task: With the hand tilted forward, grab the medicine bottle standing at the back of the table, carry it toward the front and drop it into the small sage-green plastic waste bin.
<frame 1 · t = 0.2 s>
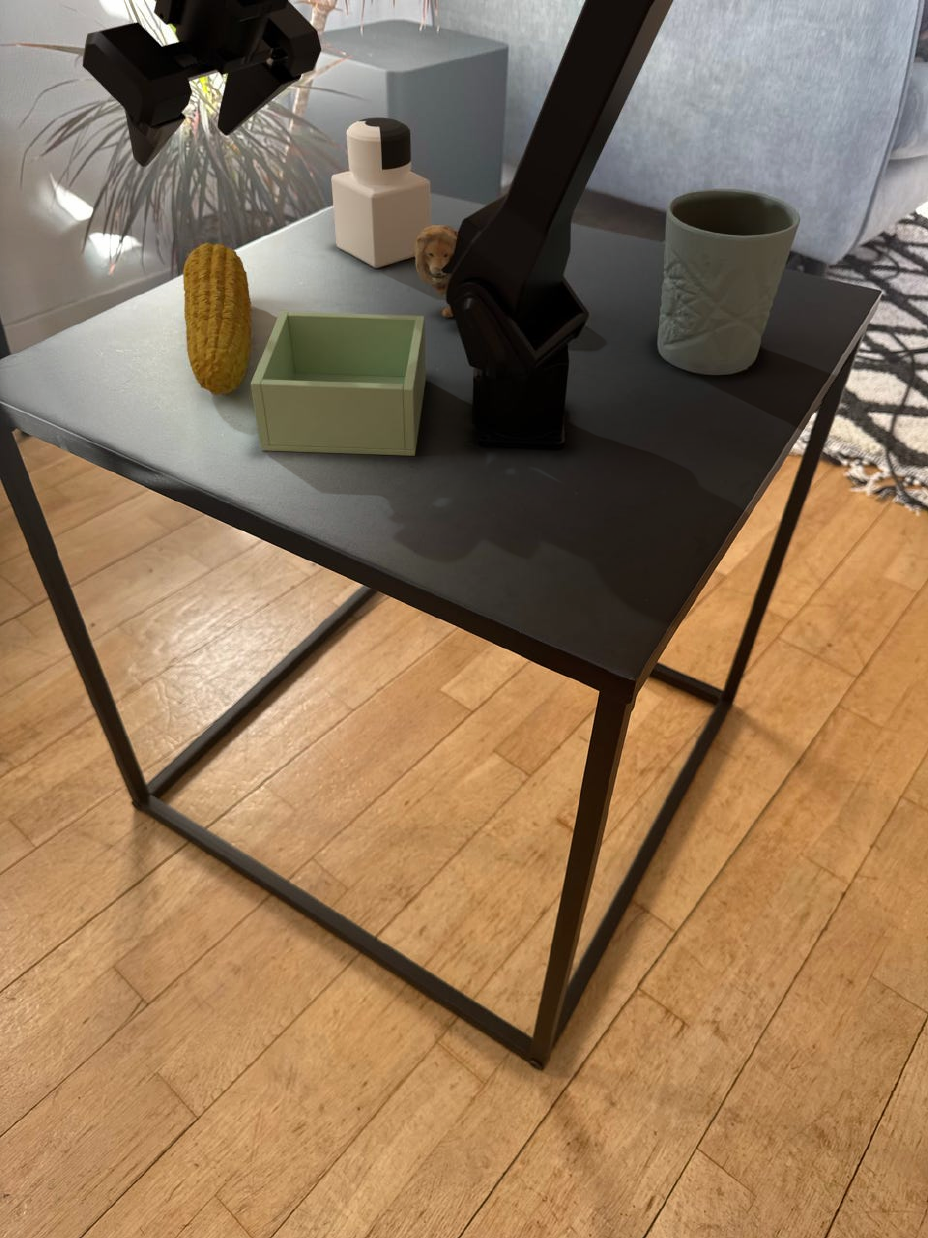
hand: (183, 146, 74), 15 cm above the table, tool tilted 35°, fingers open, 9 cm apart
food: (224, 349, 81), on the table
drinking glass: (704, 354, 82), on the table
medicine bottle: (383, 251, 97), on the table
lion figurine: (487, 321, 86), on the table
bin: (347, 412, 74), on the table
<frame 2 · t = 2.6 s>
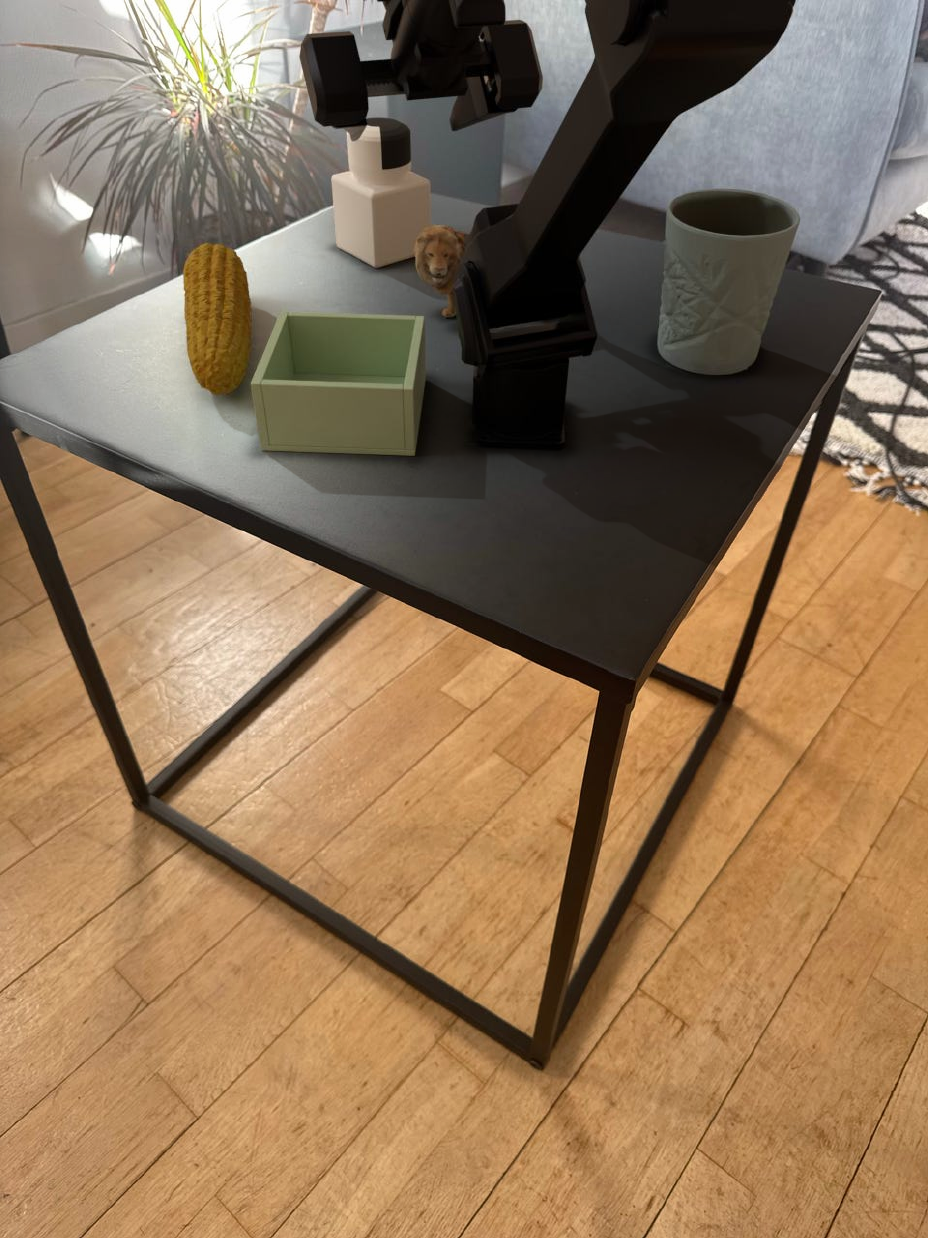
hand: (403, 130, 82), 13 cm above the table, tool tilted 45°, fingers open, 9 cm apart
nothing on the table moved.
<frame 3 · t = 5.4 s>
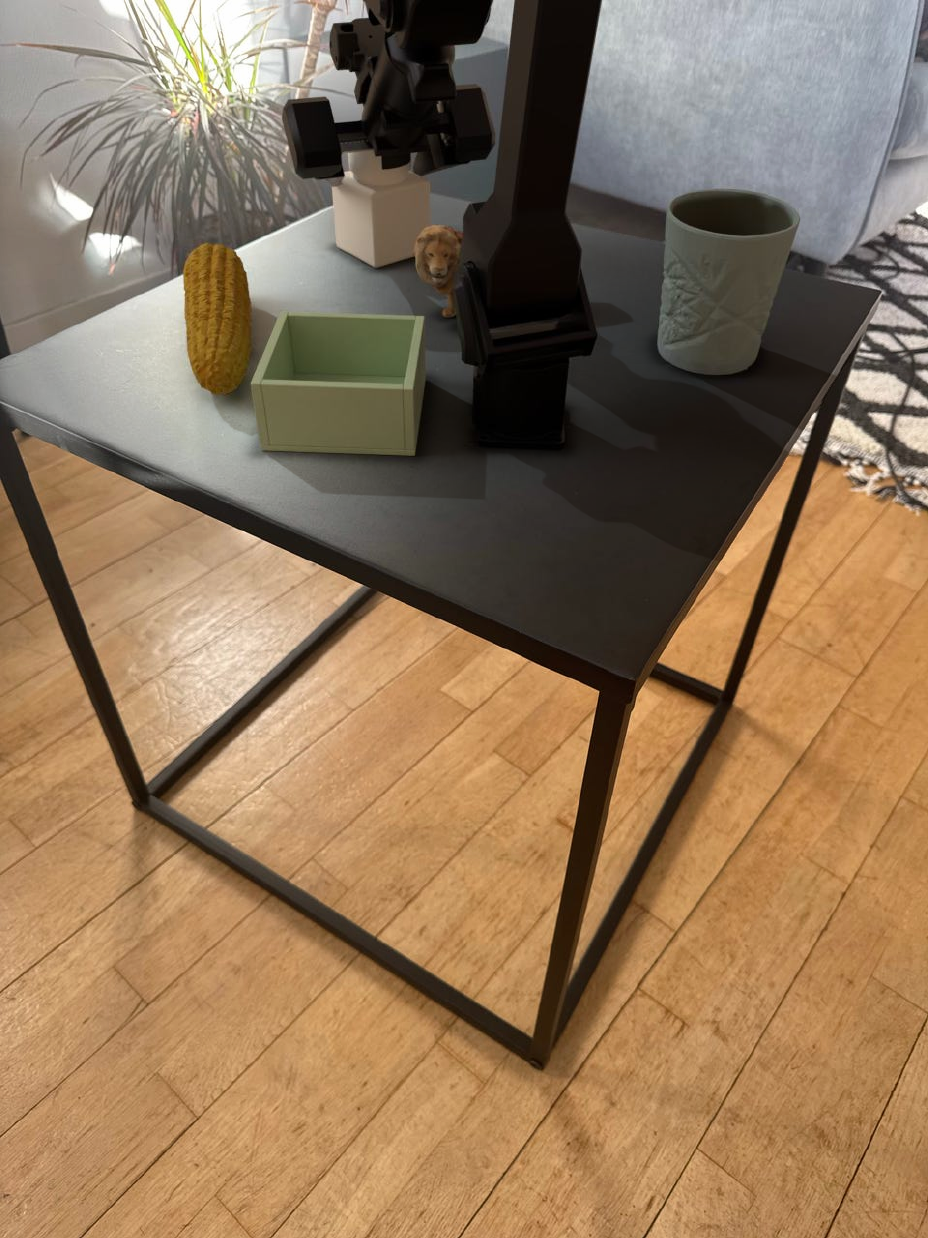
hand: (374, 176, 93), 7 cm above the table, tool tilted 45°, fingers closed on medicine bottle, 8 cm apart
medicine bottle: (383, 251, 97), on the table, touching gripper
everything else where it was.
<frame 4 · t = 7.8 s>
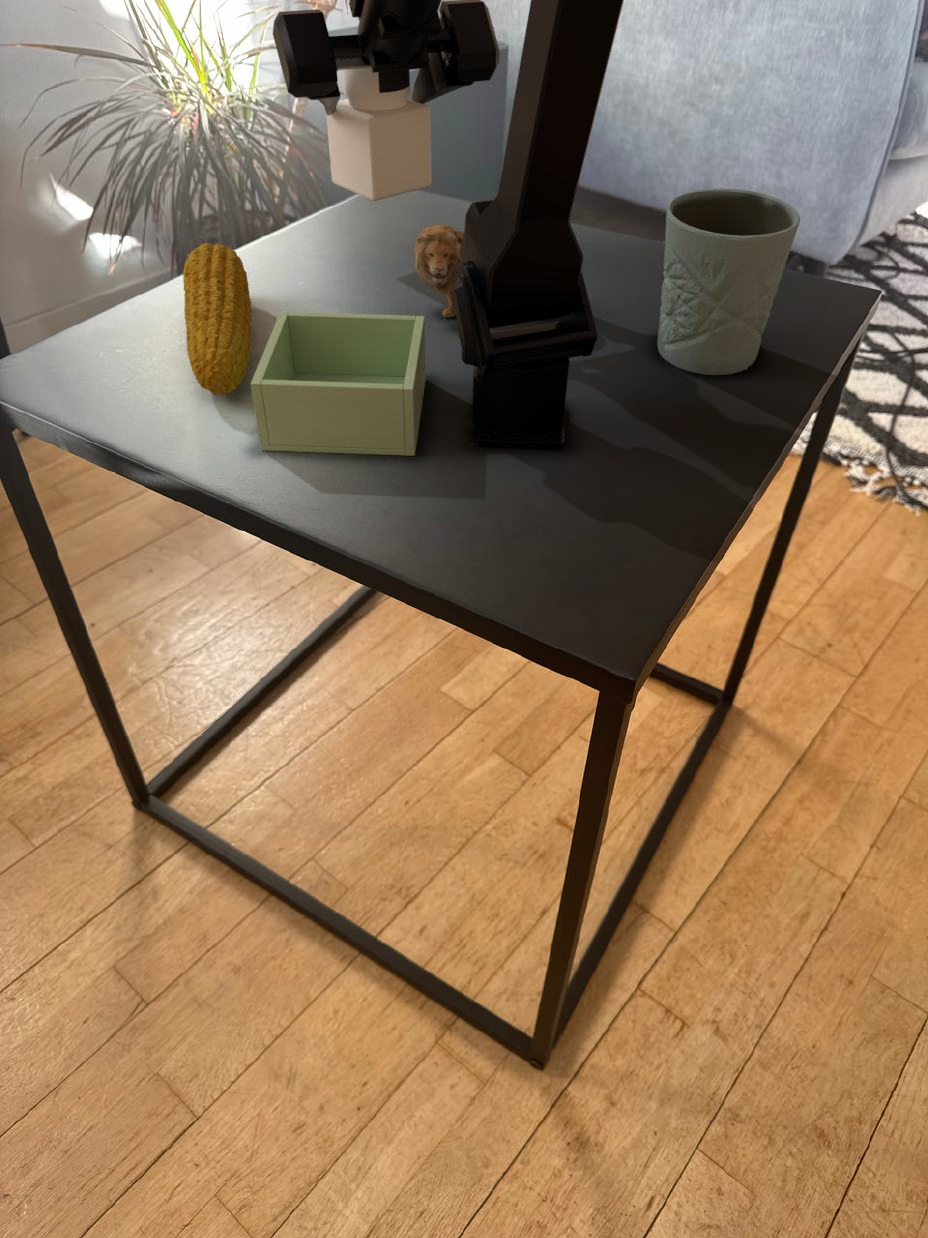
hand: (371, 105, 88), 13 cm above the table, tool tilted 45°, fingers closed on medicine bottle, 8 cm apart
medicine bottle: (381, 187, 92), point 6 cm above the table, touching gripper
everything else where it was.
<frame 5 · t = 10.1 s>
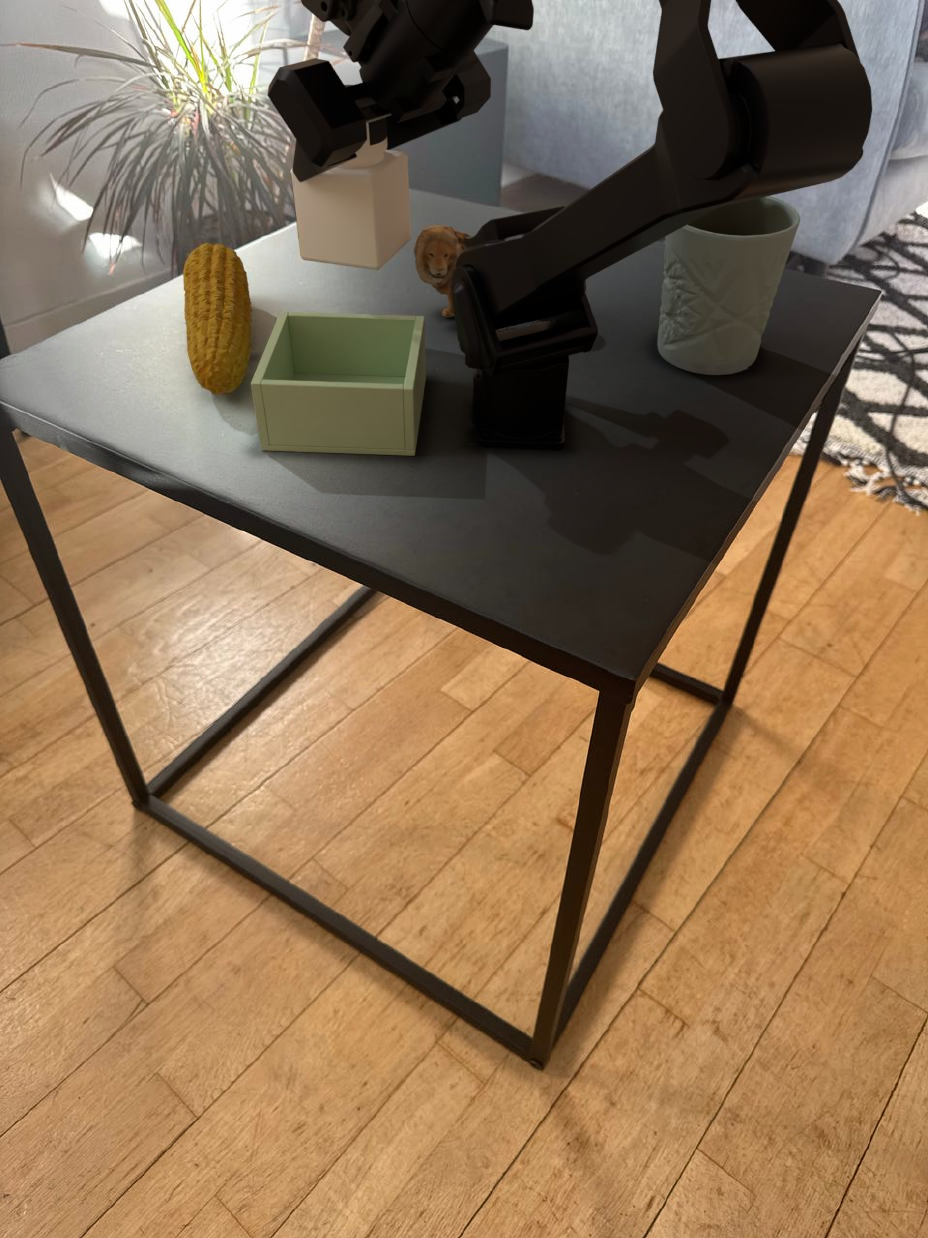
hand: (336, 162, 75), 14 cm above the table, tool tilted 45°, fingers closed on medicine bottle, 8 cm apart
medicine bottle: (357, 252, 79), point 7 cm above the table, touching gripper
everything else where it was.
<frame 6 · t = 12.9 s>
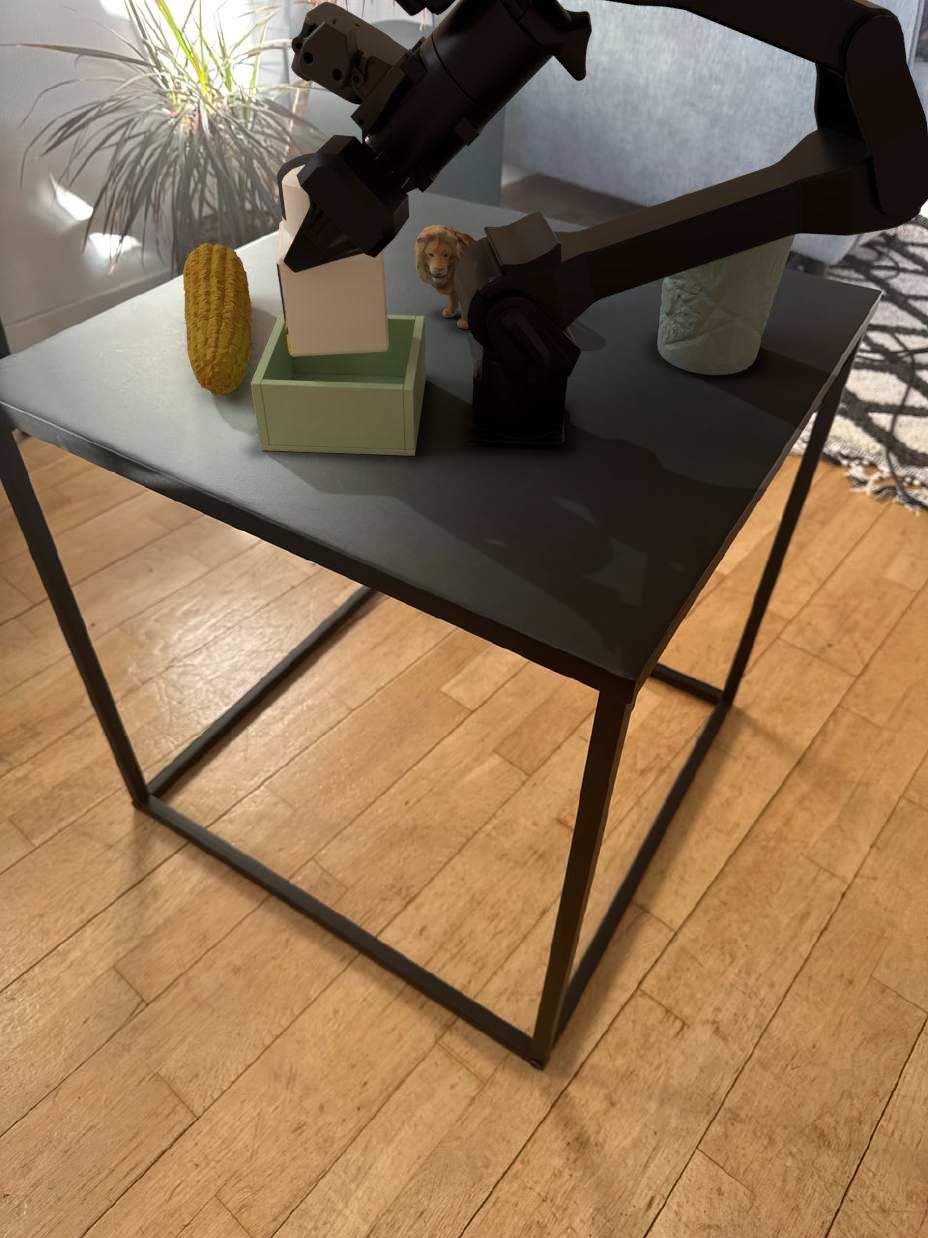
hand: (310, 241, 65), 13 cm above the table, tool tilted 45°, fingers closed on medicine bottle, 8 cm apart
medicine bottle: (339, 335, 70), point 6 cm above the table, touching gripper
everything else where it was.
when the fingers open (7 cm above the table, at t = 15.2 s): medicine bottle stays where it is, resting on bin.
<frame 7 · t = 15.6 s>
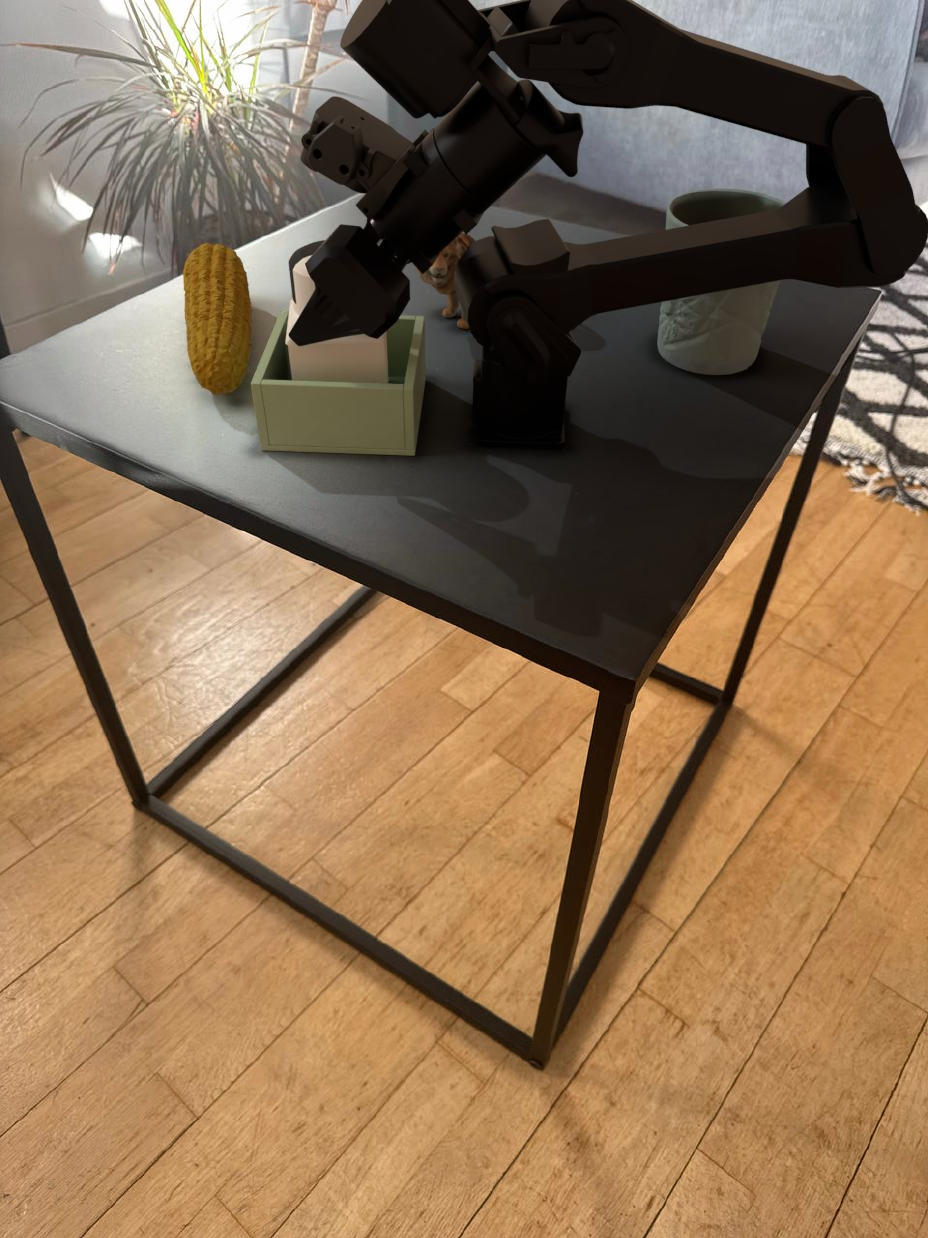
hand: (315, 311, 69), 8 cm above the table, tool tilted 45°, fingers open, 9 cm apart
medicine bottle: (343, 405, 74), resting on bin
everything else where it was.
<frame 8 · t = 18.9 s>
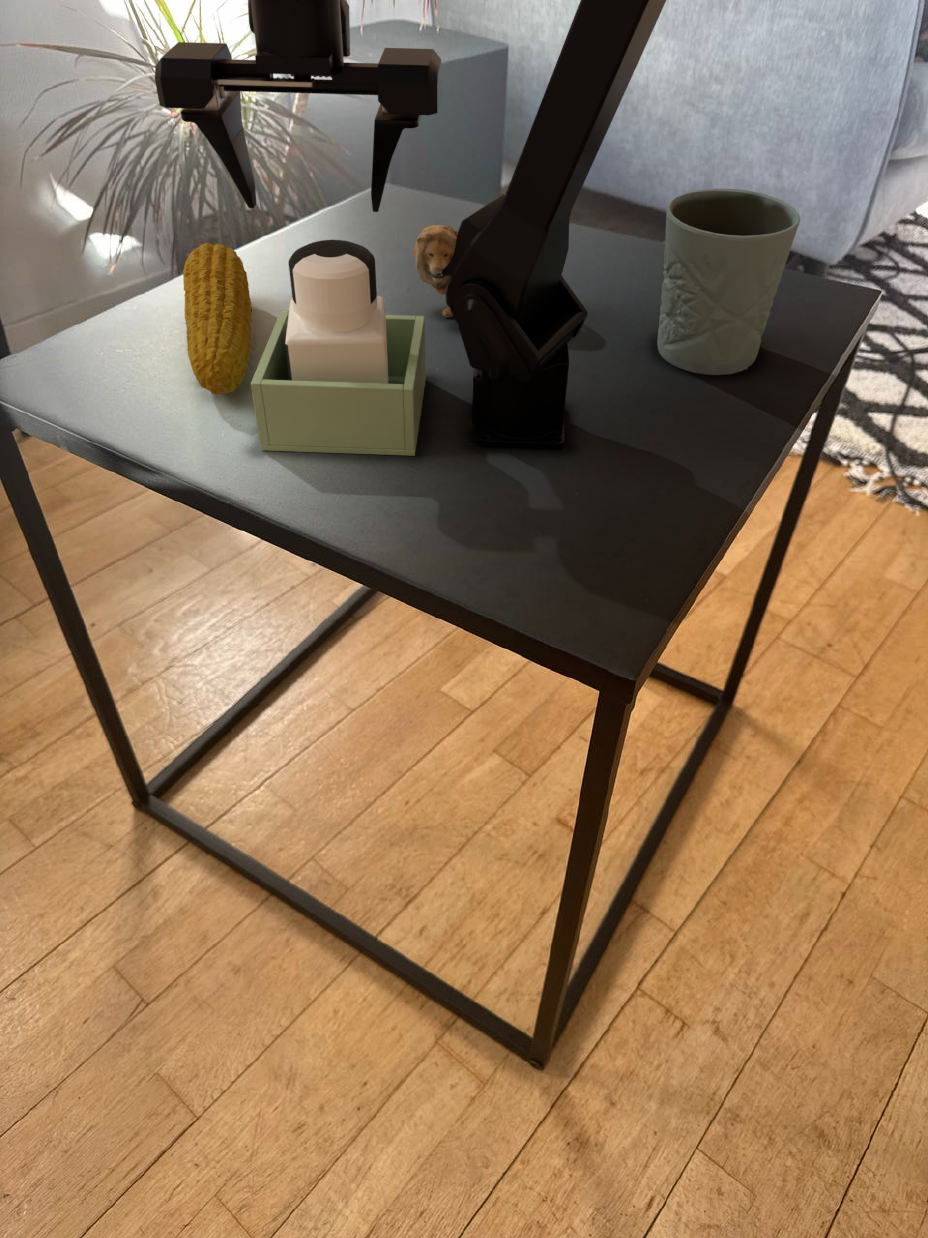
hand: (314, 208, 70), 13 cm above the table, tool pointing down, fingers open, 9 cm apart
nothing on the table moved.
at the end: medicine bottle inside the target area in the bin (0.7 cm from its centre), point 0.3 cm above the bin's base; the gripper is holding nothing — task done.
